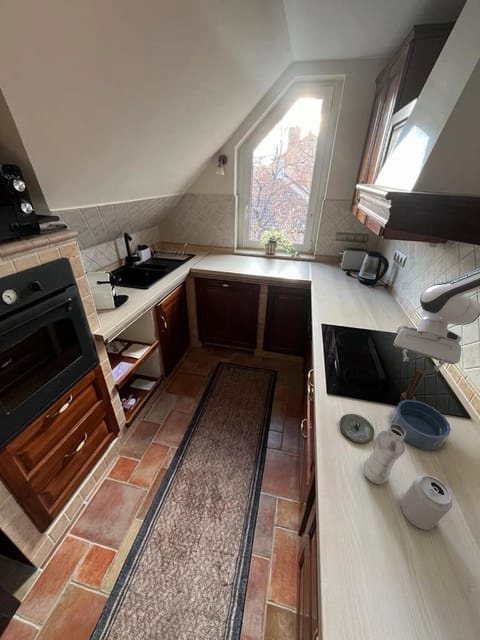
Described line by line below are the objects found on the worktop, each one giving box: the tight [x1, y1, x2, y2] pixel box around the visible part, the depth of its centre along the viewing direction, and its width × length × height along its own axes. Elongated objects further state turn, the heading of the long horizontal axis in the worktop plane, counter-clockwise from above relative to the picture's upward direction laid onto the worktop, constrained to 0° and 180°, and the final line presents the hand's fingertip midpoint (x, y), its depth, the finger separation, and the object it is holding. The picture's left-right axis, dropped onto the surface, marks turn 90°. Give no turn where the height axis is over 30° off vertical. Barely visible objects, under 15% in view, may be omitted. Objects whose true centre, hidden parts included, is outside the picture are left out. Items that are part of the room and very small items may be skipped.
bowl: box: [391, 399, 452, 451], centre depth 83 cm, size 15×15×6 cm
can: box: [399, 474, 453, 531], centre depth 61 cm, size 8×8×12 cm
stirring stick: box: [399, 368, 427, 402], centre depth 92 cm, size 5×5×15 cm
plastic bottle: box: [362, 423, 406, 485], centre depth 67 cm, size 6×7×20 cm
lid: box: [339, 413, 375, 444], centre depth 83 cm, size 11×10×5 cm
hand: (419, 366), depth 93 cm, fingers open, 8 cm apart
